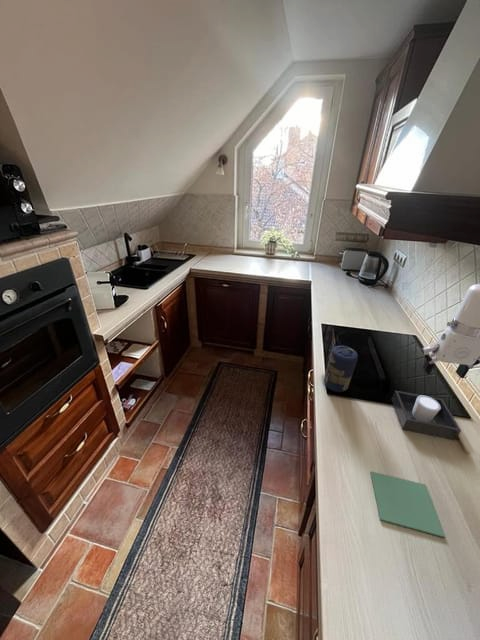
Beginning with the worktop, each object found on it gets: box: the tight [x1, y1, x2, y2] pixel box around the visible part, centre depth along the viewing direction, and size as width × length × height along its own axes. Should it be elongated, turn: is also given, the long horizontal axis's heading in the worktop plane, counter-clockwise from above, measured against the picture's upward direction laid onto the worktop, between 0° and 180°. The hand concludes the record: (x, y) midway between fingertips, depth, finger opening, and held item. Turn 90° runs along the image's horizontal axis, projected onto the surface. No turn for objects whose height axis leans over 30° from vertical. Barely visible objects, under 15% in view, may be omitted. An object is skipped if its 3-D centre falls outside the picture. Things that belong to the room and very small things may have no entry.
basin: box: [390, 390, 462, 441], centre depth 88 cm, size 16×14×5 cm
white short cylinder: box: [412, 394, 441, 422], centre depth 87 cm, size 7×7×7 cm
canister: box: [323, 345, 359, 393], centre depth 98 cm, size 10×10×18 cm
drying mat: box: [370, 471, 446, 539], centre depth 66 cm, size 14×12×1 cm
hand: (442, 373), depth 81 cm, fingers open, 9 cm apart
